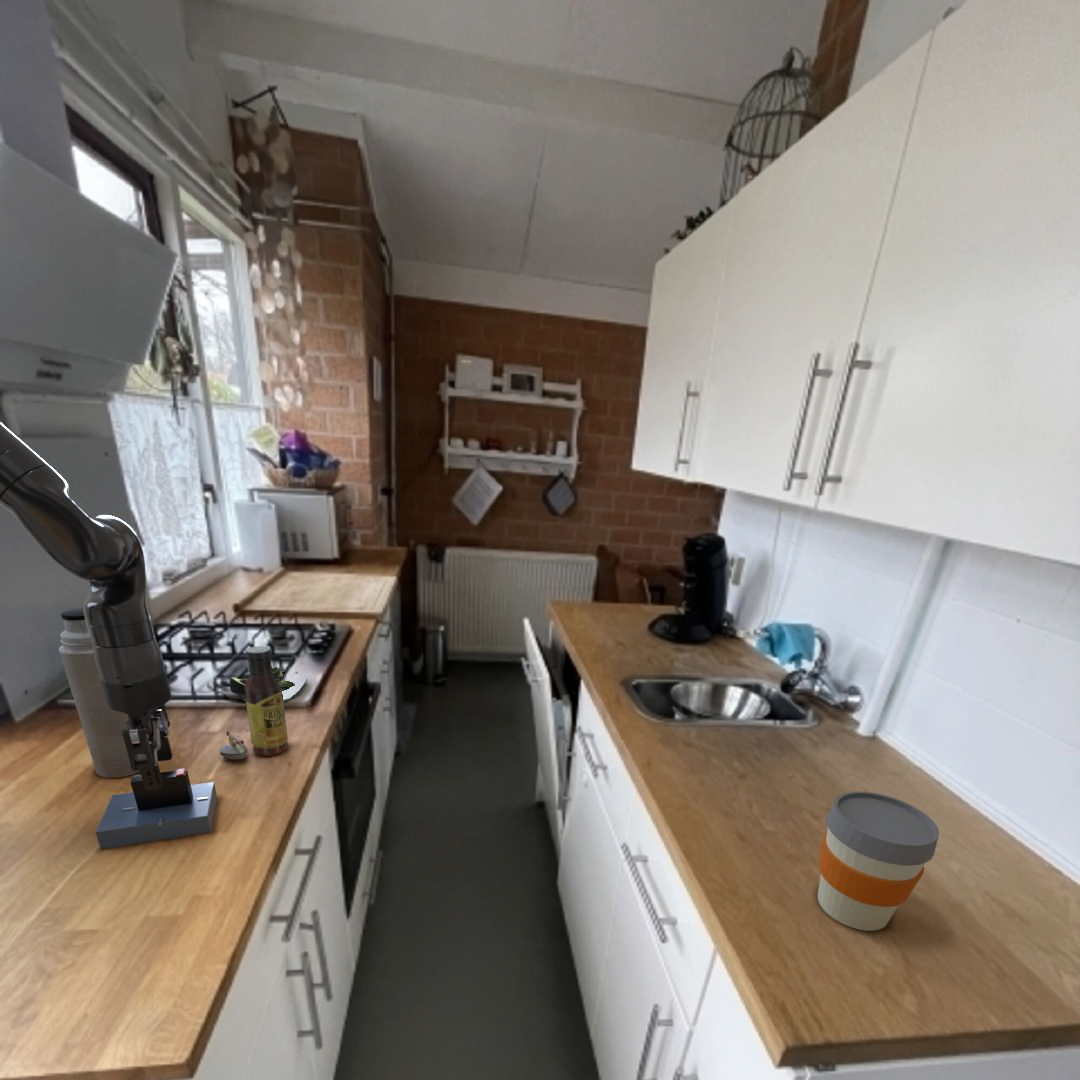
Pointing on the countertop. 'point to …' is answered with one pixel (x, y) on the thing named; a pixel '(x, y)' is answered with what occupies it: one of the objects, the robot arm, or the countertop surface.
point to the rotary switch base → (156, 819)
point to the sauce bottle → (264, 704)
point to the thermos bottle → (93, 700)
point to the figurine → (234, 748)
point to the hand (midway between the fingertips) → (159, 773)
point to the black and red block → (163, 791)
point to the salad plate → (239, 684)
